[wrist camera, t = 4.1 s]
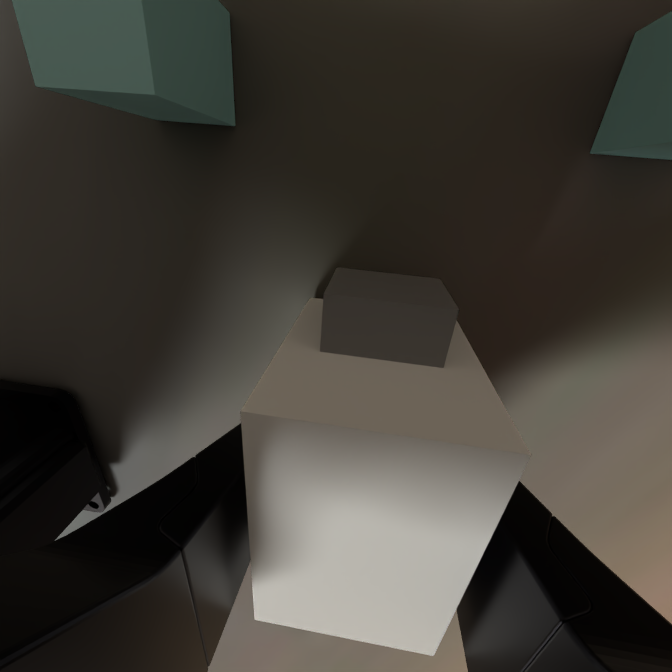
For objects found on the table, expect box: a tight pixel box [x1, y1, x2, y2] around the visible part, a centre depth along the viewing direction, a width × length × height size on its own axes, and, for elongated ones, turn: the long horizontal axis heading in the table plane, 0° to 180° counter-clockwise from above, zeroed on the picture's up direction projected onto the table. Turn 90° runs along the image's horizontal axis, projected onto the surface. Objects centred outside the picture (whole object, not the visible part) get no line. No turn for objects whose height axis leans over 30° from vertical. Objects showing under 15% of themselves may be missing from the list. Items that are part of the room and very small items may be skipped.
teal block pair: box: [12, 0, 672, 160], centre depth 5 cm, size 12×2×3 cm, turn 86°
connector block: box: [240, 267, 531, 656], centre depth 8 cm, size 4×7×5 cm, turn 176°
